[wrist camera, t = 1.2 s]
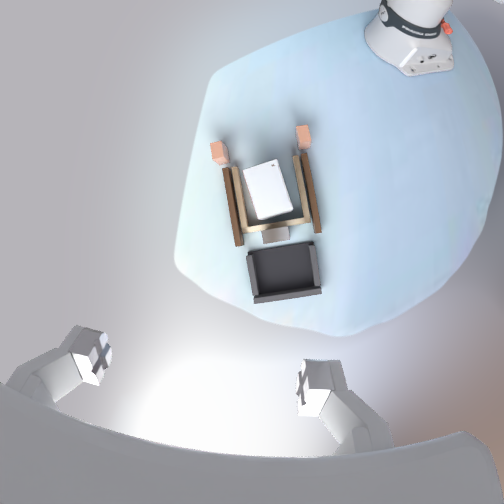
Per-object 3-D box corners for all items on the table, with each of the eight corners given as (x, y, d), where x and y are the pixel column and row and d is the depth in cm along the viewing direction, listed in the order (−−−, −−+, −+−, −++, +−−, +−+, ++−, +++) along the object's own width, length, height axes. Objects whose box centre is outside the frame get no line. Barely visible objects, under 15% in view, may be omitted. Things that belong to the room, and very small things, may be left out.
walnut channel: (305, 156, 51) (306, 152, 48) (319, 232, 52) (321, 232, 49) (225, 171, 53) (222, 168, 50) (238, 245, 54) (235, 246, 51)
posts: (306, 133, 50) (307, 124, 45) (309, 148, 50) (311, 140, 45) (217, 150, 53) (210, 143, 48) (219, 164, 53) (212, 159, 48)
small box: (250, 179, 52) (240, 168, 42) (279, 170, 51) (276, 157, 41) (263, 220, 53) (256, 220, 42) (292, 211, 52) (293, 208, 41)
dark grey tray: (313, 241, 52) (314, 242, 49) (320, 289, 52) (321, 293, 50) (247, 252, 54) (245, 253, 51) (256, 299, 54) (254, 303, 51)
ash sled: (297, 157, 50) (299, 144, 42) (311, 233, 51) (316, 235, 43) (233, 169, 52) (222, 159, 43) (246, 244, 53) (237, 248, 44)
